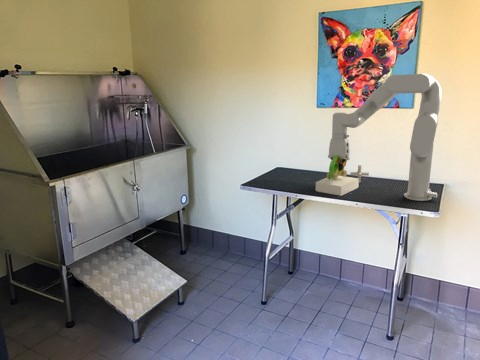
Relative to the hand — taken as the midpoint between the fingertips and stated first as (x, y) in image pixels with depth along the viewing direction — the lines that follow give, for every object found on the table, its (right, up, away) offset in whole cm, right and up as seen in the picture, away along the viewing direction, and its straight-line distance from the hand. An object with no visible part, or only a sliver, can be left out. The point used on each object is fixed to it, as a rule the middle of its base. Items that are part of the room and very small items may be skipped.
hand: (338, 170), depth 214 cm
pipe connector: (+16, -7, +15) cm, 23 cm away
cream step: (0, -10, +3) cm, 11 cm away
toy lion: (0, -4, +1) cm, 4 cm away
